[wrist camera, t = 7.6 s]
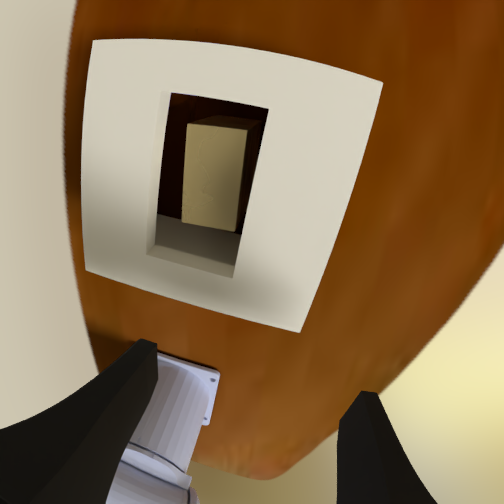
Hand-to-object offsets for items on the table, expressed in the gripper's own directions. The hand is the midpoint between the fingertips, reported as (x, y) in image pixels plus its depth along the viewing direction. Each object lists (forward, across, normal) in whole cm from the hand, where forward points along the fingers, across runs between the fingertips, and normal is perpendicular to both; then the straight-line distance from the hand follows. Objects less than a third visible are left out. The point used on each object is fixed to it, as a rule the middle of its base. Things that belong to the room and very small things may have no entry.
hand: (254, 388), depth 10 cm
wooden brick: (+10, +4, -5) cm, 12 cm away
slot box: (+10, +4, -5) cm, 12 cm away
